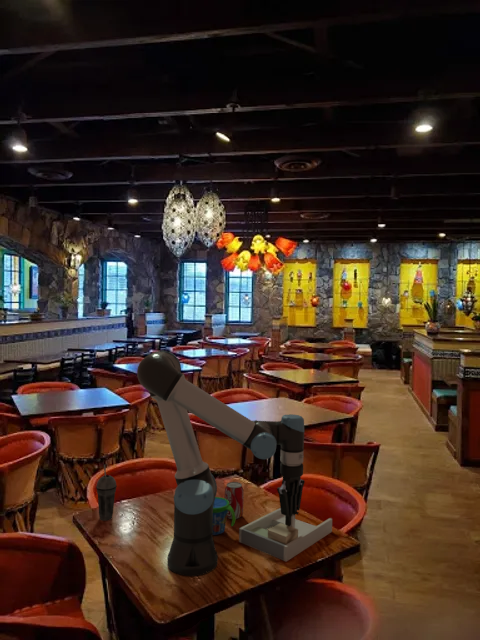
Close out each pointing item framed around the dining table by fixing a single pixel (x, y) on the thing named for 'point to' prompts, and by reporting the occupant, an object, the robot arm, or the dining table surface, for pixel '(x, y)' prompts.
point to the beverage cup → (106, 496)
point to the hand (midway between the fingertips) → (289, 533)
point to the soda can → (234, 498)
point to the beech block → (283, 533)
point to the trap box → (259, 540)
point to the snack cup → (221, 515)
